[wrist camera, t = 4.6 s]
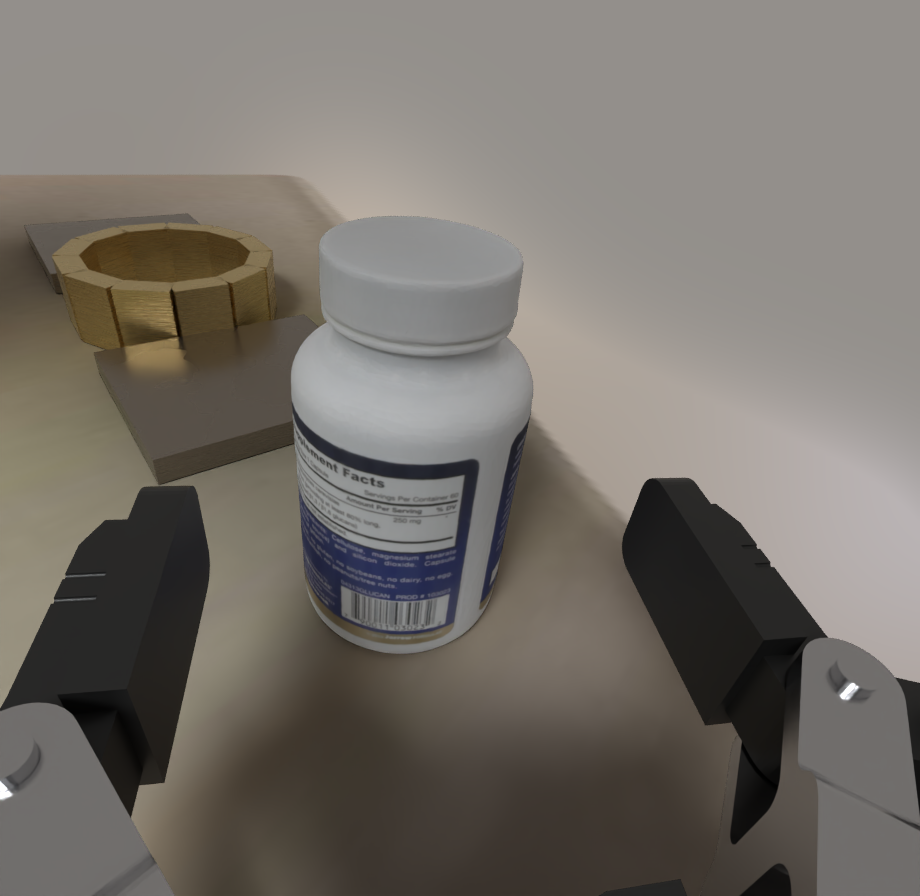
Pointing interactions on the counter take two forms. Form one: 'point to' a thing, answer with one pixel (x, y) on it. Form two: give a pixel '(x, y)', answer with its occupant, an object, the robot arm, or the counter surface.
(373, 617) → the pill bottle
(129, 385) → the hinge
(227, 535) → the counter surface
